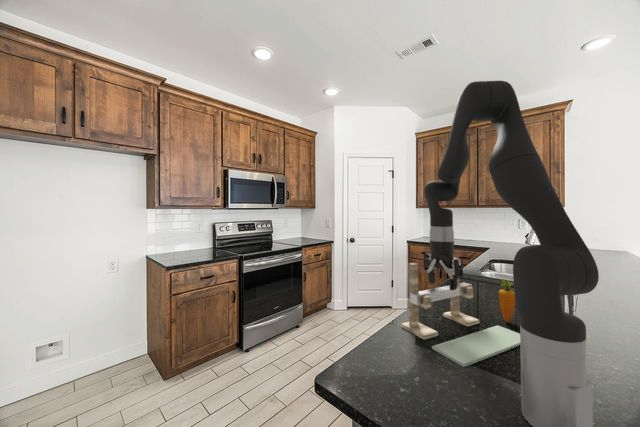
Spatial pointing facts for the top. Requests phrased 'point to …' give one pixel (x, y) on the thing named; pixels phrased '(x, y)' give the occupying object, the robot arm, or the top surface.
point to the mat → (478, 345)
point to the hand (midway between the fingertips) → (442, 286)
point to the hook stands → (414, 323)
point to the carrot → (507, 301)
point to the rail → (439, 293)
